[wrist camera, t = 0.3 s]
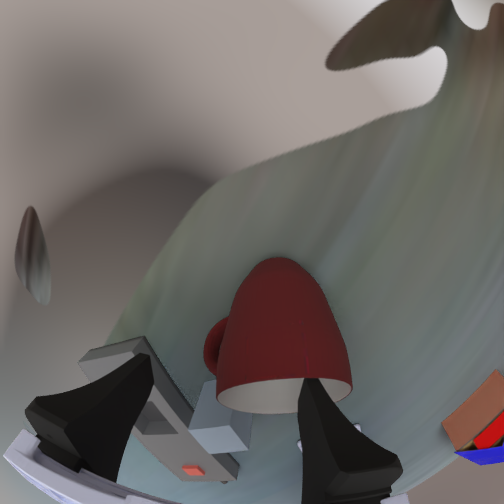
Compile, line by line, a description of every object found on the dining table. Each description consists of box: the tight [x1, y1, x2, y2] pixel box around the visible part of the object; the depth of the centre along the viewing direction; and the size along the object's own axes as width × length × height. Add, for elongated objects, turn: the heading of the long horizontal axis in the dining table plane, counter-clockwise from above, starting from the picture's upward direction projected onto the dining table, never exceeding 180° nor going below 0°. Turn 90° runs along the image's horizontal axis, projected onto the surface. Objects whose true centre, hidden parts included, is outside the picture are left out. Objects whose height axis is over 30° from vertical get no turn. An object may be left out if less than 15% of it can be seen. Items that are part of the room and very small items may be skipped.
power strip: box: [77, 336, 239, 484], centre depth 27 cm, size 29×9×4 cm, turn 22°
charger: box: [188, 380, 253, 454], centre depth 22 cm, size 4×4×7 cm
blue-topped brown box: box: [442, 369, 504, 465], centre depth 20 cm, size 12×20×12 cm, turn 50°
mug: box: [203, 257, 353, 414], centre depth 18 cm, size 10×8×10 cm
